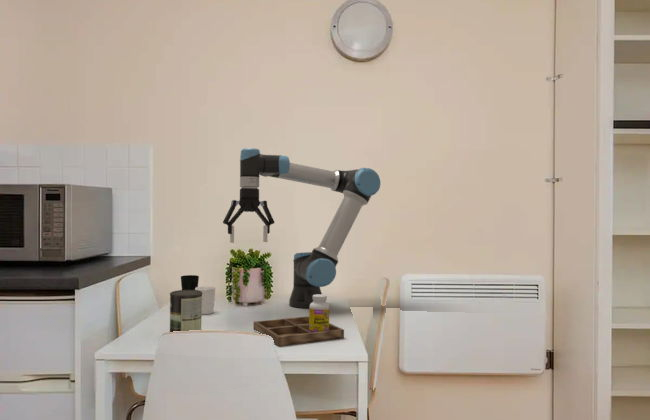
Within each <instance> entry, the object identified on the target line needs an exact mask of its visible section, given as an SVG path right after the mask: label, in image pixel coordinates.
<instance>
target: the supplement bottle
mask: <svg viewBox="0 0 650 420" xmlns="http://www.w3.org/2000/svg"><path fill="white" fill-rule="evenodd" d="M327 297H328V296H327V294H316V295H313V302H312V303H311V304H310V307H309V308H308V309H309V310H308V311H309V312H308V313H309V315H308V316H309V331H310V332H312V333H313V332H322V331H329V323H330V303H328V302H327V300H328V299H327Z"/></svg>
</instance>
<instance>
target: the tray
mask: <svg viewBox="0 0 650 420" xmlns="http://www.w3.org/2000/svg"><path fill="white" fill-rule="evenodd" d="M252 325H253V329H254V330H256V331H258V332H260V333H262V334H266V335H269V336H271V337H272V338H273V340H274V343H275V344H274V343H273V344H274V345H275V346H276V347H278V348H279V347H284V346H293V345H301V344H308V343H318V342H326V341H333V340H341V339H345V329H343V328H341V327H339V326H337V325H334V324H332V323H330V322H329V331H322V332H313V333H312V332H310V331H309V315H308V316H298V317H289V318H279V319H277V318H276V319H269V320H268V319H267V320H257V321H253V324H252ZM254 330H253V331H254ZM256 331H255V332H256Z"/></svg>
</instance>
